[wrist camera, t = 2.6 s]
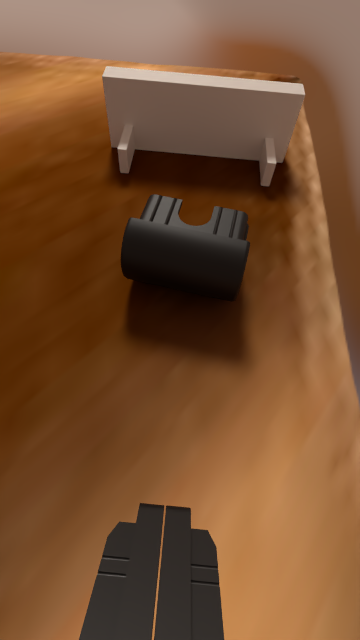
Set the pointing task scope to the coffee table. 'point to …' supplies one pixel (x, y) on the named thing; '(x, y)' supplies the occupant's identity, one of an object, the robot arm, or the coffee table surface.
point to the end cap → (186, 249)
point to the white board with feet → (200, 115)
